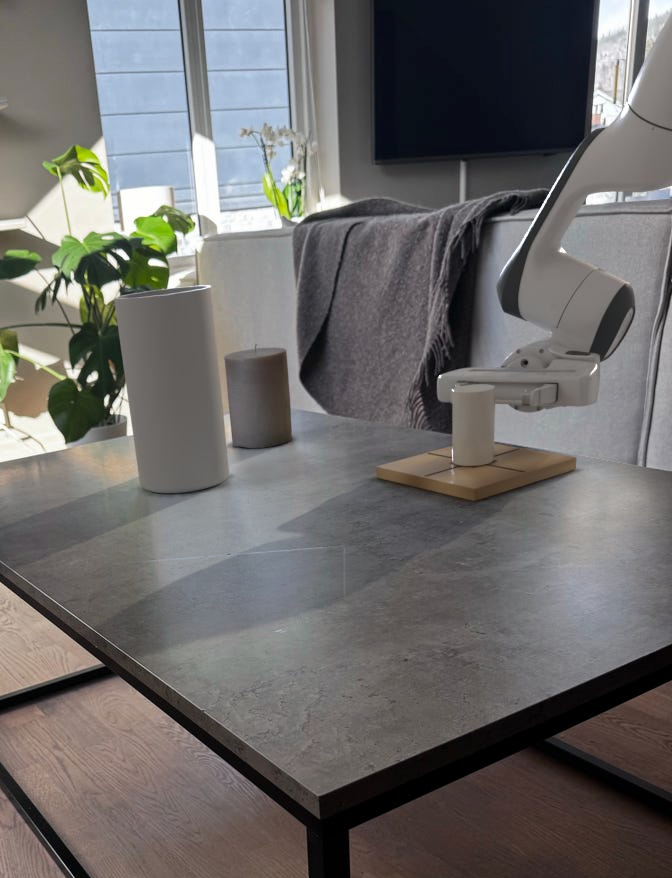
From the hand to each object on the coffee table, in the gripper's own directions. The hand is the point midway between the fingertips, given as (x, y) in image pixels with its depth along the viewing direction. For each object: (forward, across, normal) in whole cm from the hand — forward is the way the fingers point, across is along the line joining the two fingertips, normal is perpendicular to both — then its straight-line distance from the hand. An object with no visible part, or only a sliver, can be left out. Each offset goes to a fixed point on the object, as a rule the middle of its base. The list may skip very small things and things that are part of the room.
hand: (490, 398), depth 115 cm
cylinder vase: (+20, -35, +9) cm, 42 cm away
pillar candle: (-4, -39, +9) cm, 40 cm away
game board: (+5, 0, +8) cm, 10 cm away
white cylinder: (+5, 0, +7) cm, 8 cm away
